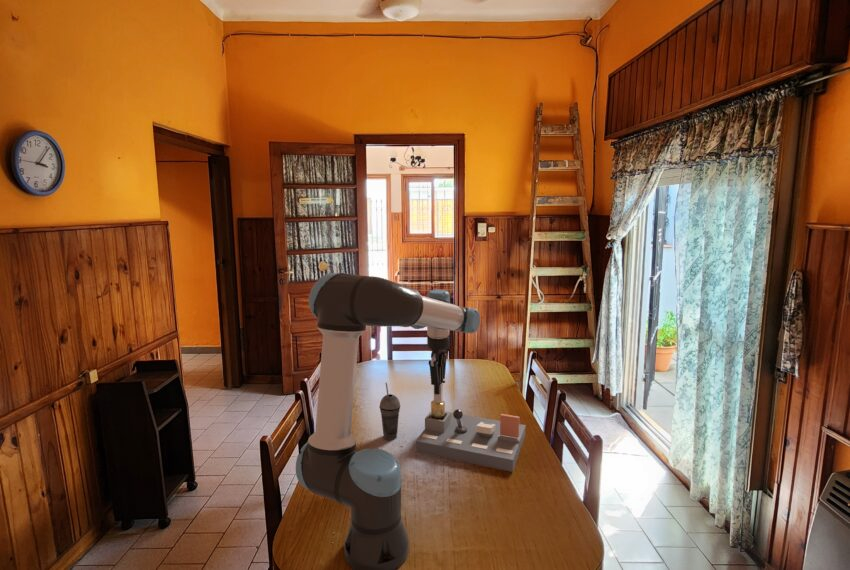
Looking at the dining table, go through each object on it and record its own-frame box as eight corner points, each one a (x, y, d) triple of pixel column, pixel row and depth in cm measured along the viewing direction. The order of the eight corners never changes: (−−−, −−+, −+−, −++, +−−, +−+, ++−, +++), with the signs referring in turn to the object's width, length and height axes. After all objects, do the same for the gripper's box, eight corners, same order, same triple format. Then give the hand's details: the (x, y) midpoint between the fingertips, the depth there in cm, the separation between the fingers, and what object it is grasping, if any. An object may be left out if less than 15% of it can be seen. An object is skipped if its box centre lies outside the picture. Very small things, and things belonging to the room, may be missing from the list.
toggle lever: (464, 431, 157) (460, 416, 152) (455, 429, 158) (451, 414, 153) (466, 423, 159) (463, 408, 154) (457, 421, 160) (453, 406, 155)
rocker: (490, 434, 152) (491, 427, 152) (475, 431, 154) (476, 425, 154) (495, 430, 158) (495, 423, 159) (480, 427, 160) (481, 421, 160)
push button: (442, 423, 159) (442, 406, 158) (428, 420, 161) (429, 404, 159) (446, 417, 163) (446, 401, 162) (433, 414, 165) (433, 398, 164)
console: (512, 472, 142) (513, 447, 141) (415, 452, 153) (415, 429, 152) (525, 435, 164) (526, 414, 163) (439, 420, 175) (439, 400, 174)
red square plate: (518, 438, 152) (519, 418, 151) (500, 434, 154) (500, 415, 153) (518, 436, 153) (519, 416, 152) (500, 433, 155) (501, 413, 154)
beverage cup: (397, 443, 159) (397, 387, 155) (377, 441, 160) (376, 386, 157) (402, 433, 166) (402, 379, 162) (383, 431, 167) (382, 378, 164)
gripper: (442, 342, 149) (442, 411, 154) (454, 331, 161) (454, 395, 166) (420, 340, 152) (421, 407, 156) (434, 329, 164) (434, 392, 168)
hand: (438, 401), depth 161 cm, fingers closed
